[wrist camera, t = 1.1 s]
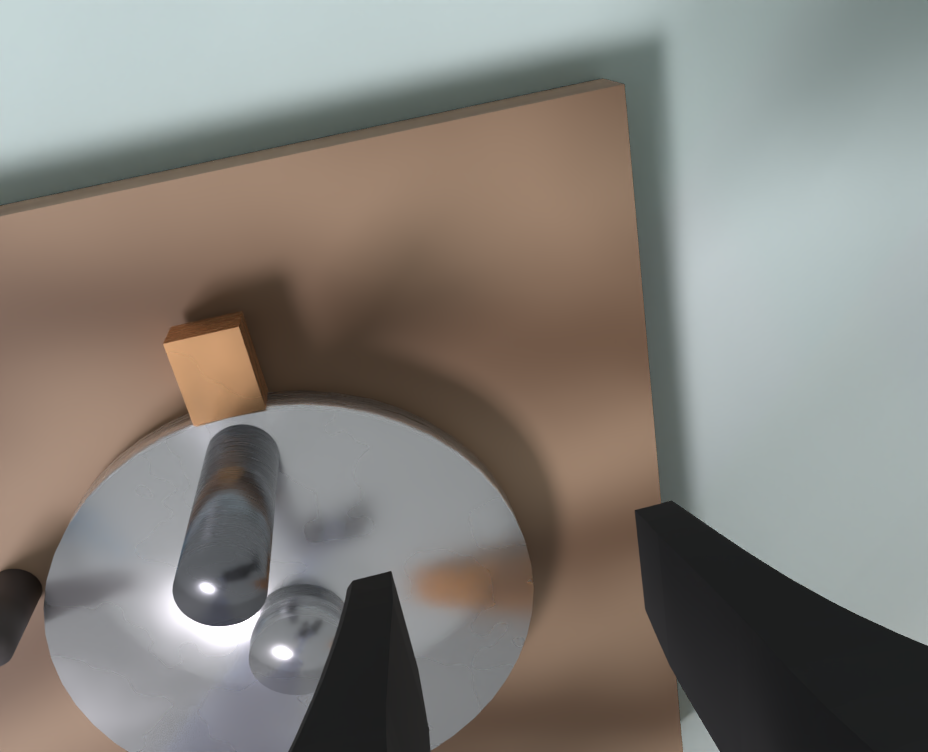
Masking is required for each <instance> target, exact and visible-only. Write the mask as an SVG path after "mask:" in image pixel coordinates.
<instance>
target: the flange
mask: <svg viewBox="0 0 928 752" xmlns="http://www.w3.org/2000/svg"><path fill="white" fill-rule="evenodd" d="M163 345H164V348H165V351H166V353H167V356H168V359H169V361H170V364H171V367H172V369H173V372H174V375H175V377H176V380H177V383H178V386H179V388H180V391H181V394H182V396H183V399H184V402H185V404H186V407H187V410H188V412H189V413H187V414H185V415H183V416H181V417H178V418H176V419H174V420H171V421H169V422H168V423H166V424H164V425H163V426H161V427H159V428H157V429H156V430H154V431H152V432H151V433H149V434H147V435H146V436H144V437H142V438H141V439H140V440H138V441H137V442H136V443H135V444H133V445H132V446H131V447H129V448H128V449H127V450H126V451H124V452H123V453H122V454H121V455H119V456H118V457H117V458H116V459H115V460H114V461H113V462H112V463H111V464H110V465H109V466H108V467H107V468H106V469H105V470H104V471H103V472H102V473H101V474H100V476H99V477H98V478H97V479H96V480H95V481H94V483H93V484H92V485H91V487H90V488H89V490H88V491H87V493H86V494H85V495H84V497H83V498H82V500H81V501H80V503H79V504H78V506H77V508H76V510H75V512H74V514H73V516H72V518H71V520H70V522H69V525H68V527H67V529H66V531H65V533H64V535H63V537H62V539H61V541H60V543H59V545H58V547H57V549H56V552H55V554H54V557H53V560H52V563H51V567H50V570H49V574H48V577H47V581H46V589H45V598H44V607H43V609H44V624H45V635H46V639H47V643H48V647H49V651H50V655H51V659H52V662H53V664H54V666H55V669H56V671H57V673H58V675H59V678H60V680H61V682H62V684H63V686H64V687H65V689H66V690H67V692H68V693H69V695H70V696H71V698H72V699H73V701H74V703H75V704H76V706H77V707H78V708H79V709H80V710H81V711H82V712H83V713H84V715H85V716H86V717H87V718H88V719H89V720H90V721H91V722H92V724H93V725H94V726H96V727H97V728H98V729H99V730H100V731H101V732H103V733H104V734H105V735H106V736H107V737H108V738H110V739H111V740H112V741H113V742H114V743H116V744H117V745H119V746H120V747H122V748H123V749H125V750H126V751H128V752H288V751H289V749H290V747H291V745H292V743H293V741H294V739H295V736H296V734H297V732H298V730H299V727H300V725H301V723H302V720H303V718H304V716H305V714H306V711H307V709H308V707H309V704H310V702H311V700H312V698H313V695H314V693H315V690H316V688H317V685H318V682H319V680H320V677H321V674H322V671H323V669H324V666H325V663H326V660H327V658H328V655H329V652H330V649H331V646H332V643H333V640H334V637H335V634H336V631H337V627H338V624H339V621H340V617H341V613H342V610H343V606H344V602H345V597H346V592H347V588H348V586H349V585H350V584H351V582H352V581H353V580H357V579H361V578H365V577H369V576H373V575H377V574H381V573H385V572H389V571H392V575H393V579H394V582H395V586H396V590H397V593H398V597H399V601H400V604H401V608H402V611H403V615H404V619H405V622H406V626H407V630H408V633H409V637H410V640H411V644H412V648H413V651H414V655H415V659H416V662H417V666H418V670H419V676H420V681H421V687H422V693H423V698H424V704H425V710H426V715H427V721H428V727H429V736H430V750H433V749H434V748H436V747H437V746H439V745H440V744H442V743H443V742H445V741H446V740H448V739H449V738H451V737H452V736H454V735H455V734H456V733H457V732H458V731H460V730H461V729H462V728H463V727H464V726H466V725H467V724H468V723H469V722H470V721H471V720H473V719H474V718H475V717H476V716H477V715H478V714H479V713H480V712H481V710H482V709H483V708H484V707H485V706H486V705H487V704H488V703H489V702H490V701H491V700H492V699H493V697H494V696H495V694H496V693H497V692H498V690H499V689H500V688H501V686H502V685H503V684H504V682H505V681H506V680H507V678H508V676H509V674H510V672H511V670H512V669H513V667H514V665H515V663H516V661H517V660H518V658H519V655H520V652H521V650H522V647H523V645H524V642H525V639H526V637H527V633H528V629H529V624H530V620H531V615H532V607H533V591H534V587H533V577H532V566H531V561H530V558H529V554H528V550H527V546H526V543H525V540H524V537H523V534H522V532H521V529H520V527H519V524H518V521H517V519H516V516H515V514H514V512H513V510H512V508H511V505H510V503H509V501H508V499H507V496H506V495H505V493H504V492H503V490H502V489H501V487H500V486H499V484H498V482H497V481H496V479H495V478H494V476H493V475H492V474H491V472H490V471H489V470H488V469H487V468H486V467H485V466H484V465H483V464H482V462H481V461H480V460H479V459H478V458H477V457H476V456H475V455H474V454H473V453H472V452H471V451H470V450H468V449H467V448H466V447H465V446H464V445H462V444H461V443H460V442H459V441H458V440H456V439H455V438H454V437H453V436H451V435H450V434H448V433H447V432H445V431H443V430H442V429H440V428H439V427H437V426H435V425H434V424H432V423H431V422H429V421H427V420H425V419H423V418H421V417H418V416H416V415H414V414H412V413H410V412H407V411H405V410H403V409H401V408H398V407H395V406H392V405H389V404H385V403H382V402H379V401H376V400H373V399H369V398H364V397H359V396H353V395H348V394H342V393H337V392H322V391H306V390H298V391H279V392H268V388H267V385H266V382H265V378H264V375H263V372H262V369H261V366H260V363H259V360H258V357H257V353H256V350H255V347H254V344H253V341H252V338H251V335H250V332H249V328H248V325H247V322H246V319H245V316H244V313H243V311H239V312H235V313H231V314H226V315H222V316H217V317H213V318H208V319H204V320H199V321H195V322H190V323H186V324H182V325H177V326H173V327H170V330H169V332H168V334H167V336H166V338H165V341H164V343H163Z"/></svg>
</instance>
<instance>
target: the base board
mask: <svg viewBox="0 0 928 752" xmlns="http://www.w3.org/2000/svg"><path fill="white" fill-rule="evenodd" d="M239 311H243V313H244V316H245V319H246V322H247V325H248V328H249V332H250V335H251V338H252V341H253V344H254V347H255V350H256V353H257V357H258V360H259V363H260V366H261V369H262V372H263V375H264V378H265V382H266V385H267V388H268V392H279V391H298V390H306V391H322V392H337V393H342V394H348V395H353V396H359V397H364V398H369V399H373V400H376V401H379V402H382V403H385V404H389V405H392V406H395V407H398V408H401V409H403V410H405V411H407V412H410V413H412V414H414V415H416V416H418V417H421V418H423V419H425V420H427V421H429V422H431V423H432V424H434V425H435V426H437V427H439V428H440V429H442V430H443V431H445V432H447V433H448V434H450V435H451V436H453V437H454V438H455V439H456V440H458V441H459V442H460V443H461V444H462V445H464V446H465V447H466V448H467V449H468V450H470V451H471V452H472V453H473V454H474V455H475V456H476V457H477V458H478V459H479V460H480V461H481V462H482V464H483V465H484V466H485V467H486V468H487V469H488V470H489V471H490V472H491V474H492V475H493V476H494V478H495V479H496V481H497V482H498V484H499V486H500V487H501V489H502V490H503V492H504V493H505V495H506V496H507V499H508V501H509V503H510V505H511V508H512V510H513V512H514V514H515V516H516V519H517V521H518V524H519V527H520V529H521V532H522V534H523V537H524V540H525V543H526V546H527V550H528V554H529V558H530V561H531V566H532V577H533V587H534V591H533V607H532V615H531V620H530V624H529V629H528V633H527V637H526V639H525V642H524V645H523V647H522V650H521V652H520V655H519V658H518V660H517V661H516V663H515V665H514V667H513V669H512V670H511V672H510V674H509V676H508V678H507V680H506V681H505V682H504V684H503V685H502V686H501V688H500V689H499V690H498V692H497V693H496V694H495V696H494V697H493V699H492V700H491V701H490V702H489V703H488V704H487V705H486V706H485V707H484V708H483V709H482V710H481V712H480V713H479V714H478V715H477V716H476V717H475V718H474V719H473V720H471V721H470V722H469V723H468V724H467V725H466V726H464V727H463V728H462V729H461V730H460V731H458V732H457V733H456V734H455V735H454V736H452V737H451V738H449V739H448V740H446V741H445V742H443V743H442V744H440V745H439V746H437V747H436V748H434V749H433V750H431V752H683V747H682V736H681V725H680V713H679V702H678V690H677V679H676V676H675V674H674V672H673V671H672V669H671V667H670V665H669V663H668V661H667V659H666V656H665V654H664V652H663V650H662V648H661V645H660V643H659V641H658V639H657V636H656V634H655V632H654V629H653V627H652V625H651V622H650V620H649V618H648V615H647V613H646V610H645V605H644V595H643V586H642V576H641V567H640V557H639V548H638V538H637V529H636V519H635V510H637V509H641V508H645V507H649V506H653V505H657V504H661V496H660V485H659V473H658V462H657V450H656V439H655V428H654V416H653V405H652V393H651V382H650V371H649V359H648V348H647V336H646V325H645V313H644V302H643V291H642V279H641V268H640V256H639V245H638V233H637V222H636V211H635V199H634V188H633V176H632V165H631V154H630V142H629V131H628V119H627V108H626V96H625V85H624V84H622V83H618V82H614V81H611V80H607V79H603V78H602V79H598V80H593V81H588V82H583V83H579V84H574V85H569V86H564V87H560V88H555V89H550V90H545V91H541V92H536V93H531V94H527V95H522V96H517V97H512V98H508V99H503V100H498V101H493V102H489V103H484V104H479V105H474V106H470V107H465V108H460V109H455V110H451V111H446V112H441V113H437V114H432V115H427V116H422V117H418V118H413V119H408V120H403V121H399V122H394V123H389V124H384V125H380V126H375V127H370V128H365V129H361V130H356V131H351V132H347V133H342V134H337V135H332V136H328V137H323V138H318V139H313V140H309V141H304V142H299V143H294V144H290V145H285V146H280V147H275V148H271V149H266V150H261V151H257V152H252V153H247V154H242V155H238V156H233V157H228V158H223V159H219V160H214V161H209V162H204V163H200V164H195V165H190V166H185V167H181V168H176V169H171V170H167V171H162V172H157V173H152V174H148V175H143V176H138V177H133V178H129V179H124V180H119V181H114V182H110V183H105V184H100V185H95V186H91V187H86V188H81V189H77V190H72V191H67V192H62V193H58V194H53V195H48V196H43V197H39V198H34V199H29V200H24V201H20V202H15V203H10V204H5V205H1V206H0V752H128V751H126V750H125V749H123V748H122V747H120V746H119V745H117V744H116V743H114V742H113V741H112V740H111V739H110V738H108V737H107V736H106V735H105V734H104V733H103V732H101V731H100V730H99V729H98V728H97V727H96V726H94V725H93V724H92V722H91V721H90V720H89V719H88V718H87V717H86V716H85V715H84V713H83V712H82V711H81V710H80V709H79V708H78V707H77V706H76V704H75V703H74V701H73V699H72V698H71V696H70V695H69V693H68V692H67V690H66V689H65V687H64V686H63V684H62V682H61V680H60V678H59V675H58V673H57V671H56V669H55V666H54V664H53V662H52V659H51V655H50V651H49V647H48V643H47V639H46V635H45V624H44V609H43V607H44V598H45V589H46V581H47V577H48V574H49V570H50V567H51V563H52V560H53V557H54V554H55V552H56V549H57V547H58V545H59V543H60V541H61V539H62V537H63V535H64V533H65V531H66V529H67V527H68V525H69V522H70V520H71V518H72V516H73V514H74V512H75V510H76V508H77V506H78V504H79V503H80V501H81V500H82V498H83V497H84V495H85V494H86V493H87V491H88V490H89V488H90V487H91V485H92V484H93V483H94V481H95V480H96V479H97V478H98V477H99V476H100V474H101V473H102V472H103V471H104V470H105V469H106V468H107V467H108V466H109V465H110V464H111V463H112V462H113V461H114V460H115V459H116V458H117V457H118V456H119V455H121V454H122V453H123V452H124V451H126V450H127V449H128V448H129V447H131V446H132V445H133V444H135V443H136V442H137V441H138V440H140V439H141V438H142V437H144V436H146V435H147V434H149V433H151V432H152V431H154V430H156V429H157V428H159V427H161V426H163V425H164V424H166V423H168V422H169V421H171V420H174V419H176V418H178V417H181V416H183V415H185V414H187V413H189V412H188V410H187V407H186V404H185V402H184V399H183V396H182V394H181V391H180V388H179V386H178V383H177V380H176V377H175V375H174V372H173V369H172V367H171V364H170V361H169V359H168V356H167V353H166V351H165V348H164V345H163V343H164V341H165V338H166V336H167V334H168V332H169V330H170V327H173V326H177V325H182V324H186V323H190V322H195V321H199V320H204V319H208V318H213V317H217V316H222V315H226V314H231V313H235V312H239Z"/></svg>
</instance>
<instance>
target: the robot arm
mask: <svg viewBox="0 0 928 752" xmlns="http://www.w3.org/2000/svg"><path fill="white" fill-rule="evenodd" d="M635 519H636V529H637V538H638V548H639V557H640V567H641V576H642V586H643V595H644V605H645V610H646V613H647V615H648V618H649V620H650V622H651V625H652V627H653V629H654V632H655V634H656V636H657V639H658V641H659V643H660V645H661V648H662V650H663V652H664V654H665V656H666V659H667V661H668V663H669V665H670V667H671V669H672V671H673V672H674V674H675V676H676V678H677V679H678V681H679V683H680V685H681V686H682V688H683V690H684V691H685V693H686V695H687V697H688V698H689V700H690V702H691V703H692V705H693V707H694V709H695V710H696V712H697V714H698V715H699V717H700V719H701V720H702V722H703V724H704V725H705V727H706V729H707V730H708V732H709V734H710V736H711V737H712V739H713V741H714V742H715V744H716V746H717V747H718V749H719V751H720V752H928V646H927V645H924V644H922V643H919V642H917V641H915V640H912V639H910V638H907V637H905V636H903V635H900V634H898V633H896V632H894V631H892V630H889V629H887V628H885V627H883V626H881V625H879V624H876V623H874V622H872V621H870V620H868V619H866V618H863V617H861V616H859V615H857V614H855V613H853V612H851V611H849V610H847V609H845V608H843V607H841V606H839V605H837V604H835V603H833V602H831V601H829V600H828V599H826V598H824V597H822V596H820V595H818V594H817V593H815V592H813V591H811V590H809V589H808V588H806V587H804V586H802V585H800V584H798V583H797V582H795V581H793V580H792V579H790V578H788V577H787V576H785V575H783V574H782V573H780V572H778V571H777V570H775V569H774V568H772V567H770V566H769V565H767V564H766V563H764V562H762V561H761V560H759V559H758V558H756V557H754V556H753V555H751V554H750V553H748V552H747V551H745V550H744V549H742V548H740V547H739V546H737V545H736V544H734V543H733V542H731V541H730V540H728V539H727V538H726V537H724V536H723V535H721V534H720V533H718V532H717V531H715V530H714V529H712V528H711V527H709V526H708V525H706V524H705V523H704V522H702V521H701V520H699V519H698V518H696V517H695V516H693V515H692V514H691V513H689V512H688V511H686V510H685V509H683V508H682V507H680V506H679V505H677V504H676V503H674V502H673V501H669V502H665V503H661V504H657V505H653V506H649V507H645V508H641V509H637V510H635ZM288 752H431V750H430V736H429V727H428V721H427V715H426V710H425V704H424V698H423V693H422V687H421V681H420V676H419V670H418V666H417V662H416V659H415V655H414V651H413V648H412V644H411V640H410V637H409V633H408V630H407V626H406V622H405V619H404V615H403V611H402V608H401V604H400V601H399V597H398V593H397V590H396V586H395V582H394V579H393V575H392V571H389V572H385V573H381V574H377V575H373V576H369V577H365V578H361V579H357V580H353V581H352V582H351V584H350V585H349V586H348V588H347V592H346V597H345V602H344V606H343V610H342V613H341V617H340V621H339V624H338V627H337V631H336V634H335V637H334V640H333V643H332V646H331V649H330V652H329V655H328V658H327V660H326V663H325V666H324V669H323V671H322V674H321V677H320V680H319V682H318V685H317V688H316V690H315V693H314V695H313V698H312V700H311V702H310V704H309V707H308V709H307V711H306V714H305V716H304V718H303V720H302V723H301V725H300V727H299V730H298V732H297V734H296V736H295V739H294V741H293V743H292V745H291V747H290V749H289V751H288Z"/></svg>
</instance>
